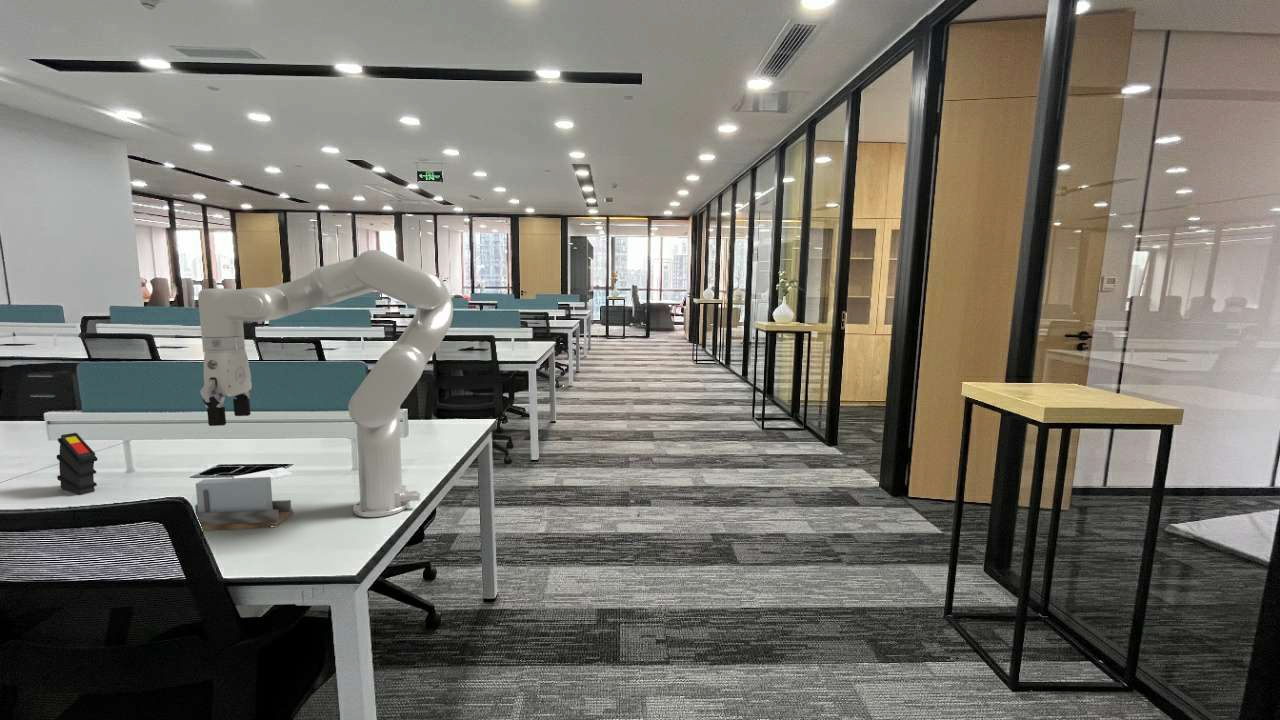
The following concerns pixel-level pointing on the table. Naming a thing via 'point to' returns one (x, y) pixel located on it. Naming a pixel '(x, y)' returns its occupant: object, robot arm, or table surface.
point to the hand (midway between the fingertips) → (230, 420)
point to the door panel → (234, 494)
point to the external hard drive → (268, 474)
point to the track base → (246, 517)
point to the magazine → (76, 464)
